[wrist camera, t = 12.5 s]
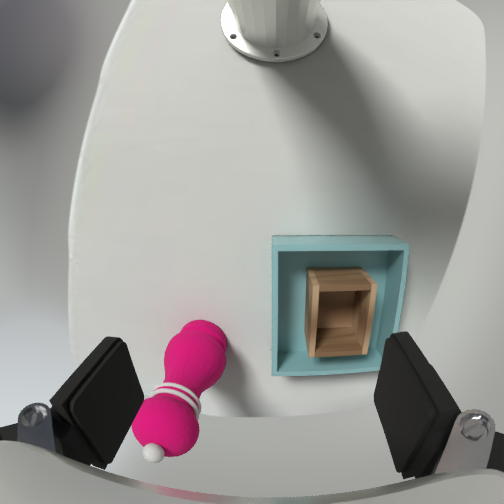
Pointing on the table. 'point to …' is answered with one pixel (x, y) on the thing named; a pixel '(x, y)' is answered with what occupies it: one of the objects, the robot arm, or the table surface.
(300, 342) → the big crate
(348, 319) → the small crate
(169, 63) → the table surface
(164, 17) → the table surface
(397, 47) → the table surface
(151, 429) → the pepper mill
